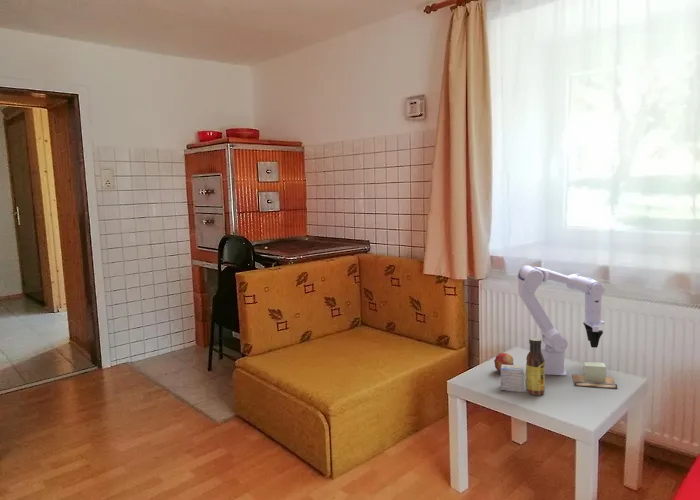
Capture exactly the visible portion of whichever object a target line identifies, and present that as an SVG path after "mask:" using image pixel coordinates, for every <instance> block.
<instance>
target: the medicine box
mask: <svg viewBox="0 0 700 500" xmlns="http://www.w3.org/2000/svg"><path fill="white" fill-rule="evenodd" d="M501 390H506V391H505V392H514V391H517V393H524V366H523V365H517V364H516V365H515V364H514V365H503V364H502V365H501V372H500V391H501Z"/></svg>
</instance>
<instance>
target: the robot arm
mask: <svg viewBox="0 0 700 500" xmlns="http://www.w3.org/2000/svg"><path fill="white" fill-rule="evenodd" d="M516 277H517V280H518V281H517V282H518V286H517V287H518V296H519V297H520V300H522V302H523V304H524V305H525V308H526V309H527V311H529V314H530V315H531V317H532V318H533V320H534V322H535V324H536V325H537V327H538V328H539V330H540V334H541V340H542V342H543V343H544V345H545V346H544V348H541V352H542V355H543V358H544V360H545V375H551V376H567V371H566V368H565V367H566V366H565V352H566V350H567V348H568V346H569V345H568V340H567V339H566V338H565V337H563V336H562V335H561V333H560V332H559V331H558V330H557V328H556V327H555V326H554V325H553V323H552V321H551V320H550V318H549V316H548V315H547V313H546V311H545V310H544V308H543V306H542V305H541V303H540V302H539V301H540V300H538V299H537V297H536V295H535V293H536V291H537V290H538V288H539V286H541V284H542V283H546V282H547V281H549V280H550V281H554V282H557V283H562V284H565V286H566V287H567V288H568V289H571V290H574V291H577V292H581V293H584V321H583V323H582V324H583V326H584V328H585V332H586V337H587V340H588V342H589V343H590V347H591V348H593V349H594V348H598V346H599V342H600V339H601V336H603V333H604V331H603V330H599V329H600V326H601V325H604V324H605V320H602V297H603V295H604V293H605V289H606V288H604V287H605V286H604V285H603V283H602V282H600V281H597V280H595V279H592V277H589V276H588V277H584V276H581V274H580V273H576V272H575V273H572V274H569V275H565V274H564V273H560V272H557V271H553V270H552V269H547V268H545V267H539V266H532V265H528V264H525V265H523V266H521V267H520V268H519V271H518V273H517V276H516Z"/></svg>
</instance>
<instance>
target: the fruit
mask: <svg viewBox="0 0 700 500" xmlns="http://www.w3.org/2000/svg"><path fill="white" fill-rule="evenodd" d="M493 362H494V367H495V369H496V370H497V371H498V372H499V373H501V365H502V364H503V365H515V364H514V358H513V356H512V355H511V354H510V353H507V352H500V353H498V354H496V356H495V358H494V360H493Z"/></svg>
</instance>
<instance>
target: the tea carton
mask: <svg viewBox="0 0 700 500" xmlns="http://www.w3.org/2000/svg"><path fill="white" fill-rule="evenodd" d="M582 372H583V373H582V375H583V377H584V380H585V381H591V382H605V383H606V377H607V374H606V373H607V367H606V364H605V363H604V362H595V361H594V362H592V361H583V371H582Z"/></svg>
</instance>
